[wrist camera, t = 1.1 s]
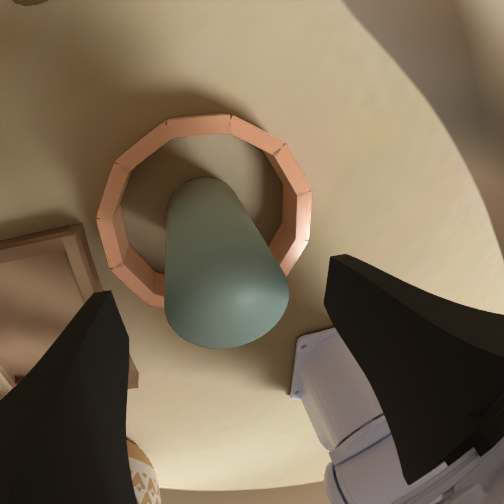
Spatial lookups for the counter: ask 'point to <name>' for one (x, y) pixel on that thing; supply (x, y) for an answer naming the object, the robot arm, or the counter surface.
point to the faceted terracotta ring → (278, 153)
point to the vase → (143, 476)
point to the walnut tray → (43, 295)
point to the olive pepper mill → (29, 2)
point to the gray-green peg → (218, 269)
